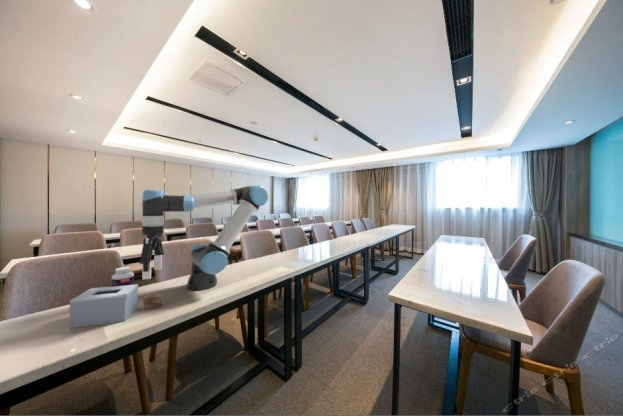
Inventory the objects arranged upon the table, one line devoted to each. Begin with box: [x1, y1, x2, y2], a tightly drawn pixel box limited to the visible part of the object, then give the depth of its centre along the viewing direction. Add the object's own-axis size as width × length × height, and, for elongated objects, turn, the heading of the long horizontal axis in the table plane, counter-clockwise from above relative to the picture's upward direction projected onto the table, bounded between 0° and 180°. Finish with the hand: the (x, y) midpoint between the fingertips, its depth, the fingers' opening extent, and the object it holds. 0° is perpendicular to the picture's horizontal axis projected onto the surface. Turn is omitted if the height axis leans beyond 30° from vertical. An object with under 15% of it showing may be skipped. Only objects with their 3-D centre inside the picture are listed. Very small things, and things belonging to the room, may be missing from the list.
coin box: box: [69, 283, 139, 329], centre depth 85 cm, size 16×12×10 cm
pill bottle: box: [110, 266, 135, 287], centre depth 102 cm, size 8×8×14 cm
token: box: [142, 293, 163, 310], centre depth 94 cm, size 6×2×5 cm, turn 110°
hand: (152, 273), depth 94 cm, fingers open, 13 cm apart
